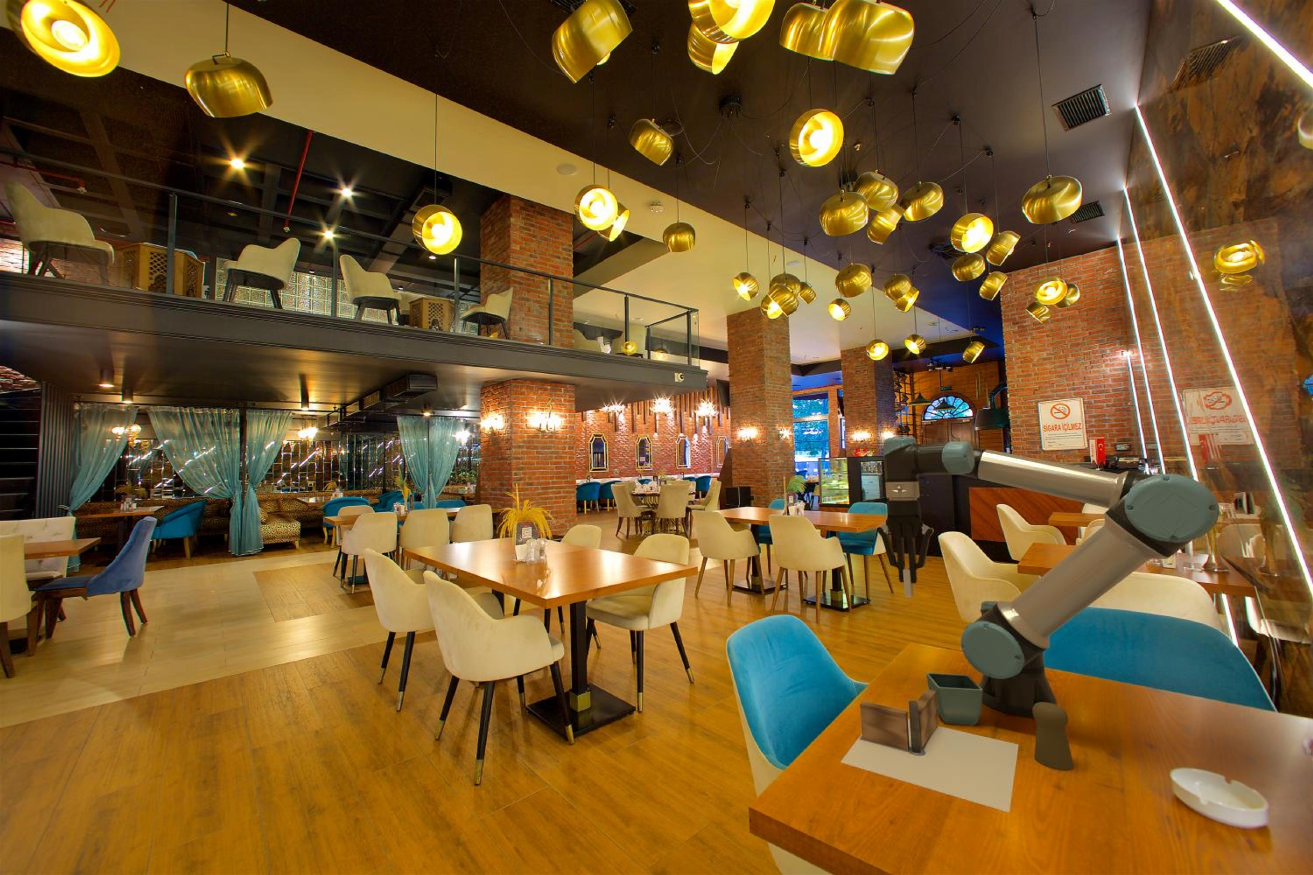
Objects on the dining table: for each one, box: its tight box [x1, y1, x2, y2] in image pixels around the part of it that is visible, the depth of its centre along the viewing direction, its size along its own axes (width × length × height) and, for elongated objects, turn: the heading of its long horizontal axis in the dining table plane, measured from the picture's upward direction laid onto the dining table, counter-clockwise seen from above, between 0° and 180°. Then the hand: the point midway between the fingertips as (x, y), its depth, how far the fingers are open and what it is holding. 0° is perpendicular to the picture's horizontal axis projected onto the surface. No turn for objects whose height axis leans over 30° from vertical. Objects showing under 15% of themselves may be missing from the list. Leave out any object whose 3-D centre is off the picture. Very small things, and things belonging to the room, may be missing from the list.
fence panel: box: [916, 688, 939, 748], centre depth 106 cm, size 12×2×7 cm, turn 140°
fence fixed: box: [859, 700, 921, 753], centre depth 103 cm, size 11×2×9 cm, turn 53°
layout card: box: [840, 718, 1019, 814], centre depth 99 cm, size 26×26×1 cm
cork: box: [1032, 702, 1075, 772], centre depth 96 cm, size 6×6×11 cm
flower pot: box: [925, 672, 983, 726], centre depth 114 cm, size 9×9×9 cm
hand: (909, 596), depth 128 cm, fingers closed
